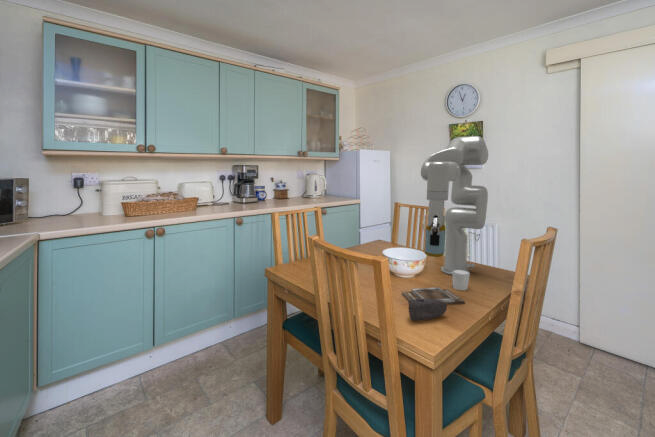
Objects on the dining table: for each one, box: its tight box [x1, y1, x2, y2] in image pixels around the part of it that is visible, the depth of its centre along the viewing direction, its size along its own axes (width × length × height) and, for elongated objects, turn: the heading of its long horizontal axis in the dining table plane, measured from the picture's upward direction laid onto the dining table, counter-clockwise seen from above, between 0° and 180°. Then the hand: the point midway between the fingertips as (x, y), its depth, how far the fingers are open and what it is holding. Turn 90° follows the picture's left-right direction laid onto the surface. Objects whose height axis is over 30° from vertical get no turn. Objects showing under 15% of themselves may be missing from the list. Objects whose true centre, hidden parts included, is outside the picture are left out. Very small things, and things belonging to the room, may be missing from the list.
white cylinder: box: [451, 270, 471, 291], centre depth 132 cm, size 7×7×7 cm
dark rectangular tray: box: [401, 286, 466, 306], centre depth 122 cm, size 20×12×2 cm, turn 98°
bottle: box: [424, 214, 446, 258], centre depth 118 cm, size 7×7×15 cm
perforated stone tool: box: [407, 299, 448, 321], centre depth 106 cm, size 15×5×7 cm, turn 101°
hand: (435, 242), depth 118 cm, fingers closed on bottle, 6 cm apart
